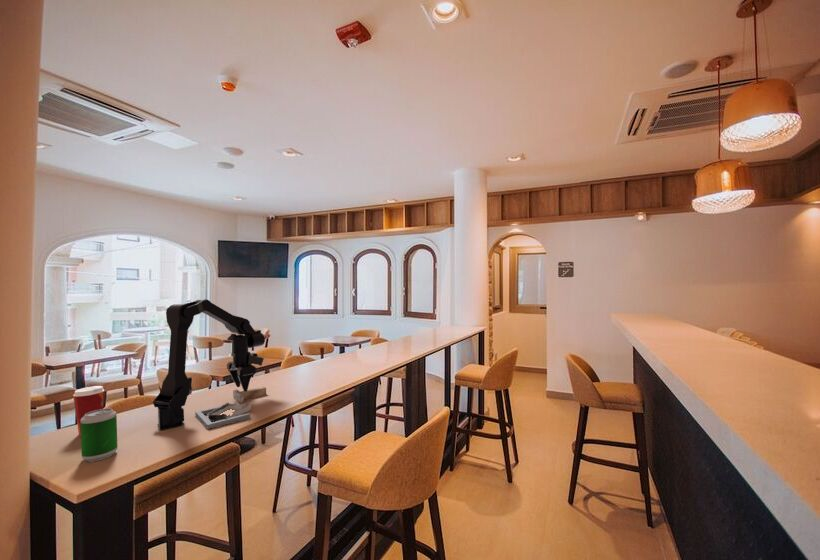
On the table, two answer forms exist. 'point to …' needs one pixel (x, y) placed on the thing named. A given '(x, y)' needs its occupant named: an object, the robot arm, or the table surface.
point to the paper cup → (87, 402)
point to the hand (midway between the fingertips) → (242, 389)
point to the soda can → (98, 434)
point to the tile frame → (210, 424)
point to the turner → (248, 393)
